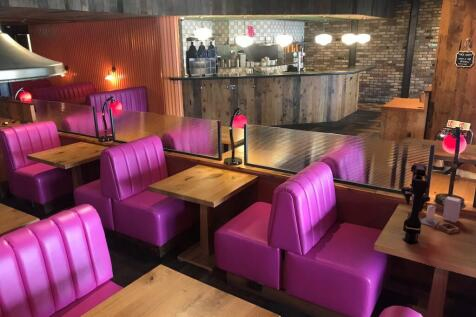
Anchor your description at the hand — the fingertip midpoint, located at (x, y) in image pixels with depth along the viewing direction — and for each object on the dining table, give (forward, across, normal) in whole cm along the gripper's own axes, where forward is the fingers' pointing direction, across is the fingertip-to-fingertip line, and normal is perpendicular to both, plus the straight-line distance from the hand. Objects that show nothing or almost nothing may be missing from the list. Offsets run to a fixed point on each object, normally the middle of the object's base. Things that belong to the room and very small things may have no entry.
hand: (413, 207), depth 246 cm
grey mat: (+13, +1, -16) cm, 21 cm away
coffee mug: (+13, +18, -22) cm, 31 cm away
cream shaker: (+12, +1, -16) cm, 21 cm away
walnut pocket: (+13, -11, -19) cm, 25 cm away
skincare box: (+13, 0, -32) cm, 35 cm away
